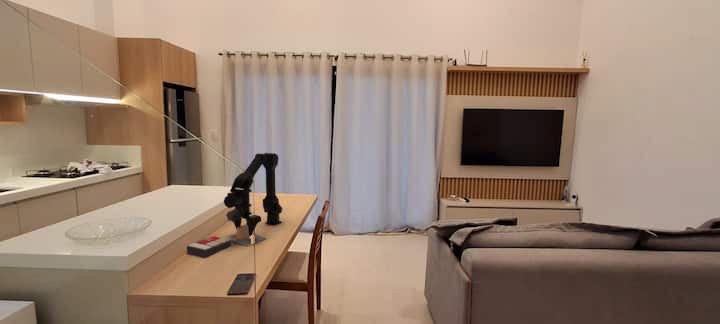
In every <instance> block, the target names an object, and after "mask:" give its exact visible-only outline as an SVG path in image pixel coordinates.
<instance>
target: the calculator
mask: <svg viewBox="0 0 720 324" xmlns="http://www.w3.org/2000/svg"><path fill="white" fill-rule="evenodd" d="M230 247H232V241H231V240H229V238H224V237H219V236H215V235H213V236H210V237H207V238H205V239H201V240H198V241H196V242H194V243H191V244H188V245H187V246H186V255H191V256H195V257H198V258H203V259H206V258H209V257H211V256H213V255H214V254H217V253H219V252H221V251H224V250H225V249H228V248H230Z"/></svg>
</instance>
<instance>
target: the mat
mask: <svg viewBox="0 0 720 324" xmlns="http://www.w3.org/2000/svg"><path fill="white" fill-rule="evenodd" d="M254 234H255V233H254ZM228 239H229V238H228ZM266 239H267V237H265V236H262V235H258V234H255V244H257V243H260V242H262V241H265V240H266ZM229 240H231V243H235V244H237V245H240V246H245V247H246V246H247V247H249V246H251V245H250V244H251V239H250V238H249V237H247V238H244V239H242V240H238V239H237V236H235V237H232V238H230V239H229ZM248 245H249V246H248Z"/></svg>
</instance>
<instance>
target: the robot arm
mask: <svg viewBox="0 0 720 324" xmlns="http://www.w3.org/2000/svg"><path fill="white" fill-rule="evenodd" d="M277 154H278V153H274V152H273V153H272V152H270V153H269V152H264V153H259V152H258V153H256V154H255V155H254V158H253V159H252V161H251V162H250V163H249V165H248V166H247V168H246V169H245V170H244V172H241V173H239V174H238V175H237V176H236V177H235V178H234V181H233V183H232V186H231V187H230V190H229V191H230V192H227V194H226V196H225V197H224V199H223V204H224V206H225V207H226V208H228V209H232V208H234V209H232V210H230V211H227V213H226V214H225V216H226V218H227V221H228V222H229V221H230V222H232V223H233V224H234V227H235V229H236V231H237V227H239V226H242V221H243V220H245V222H246V223H245V225H248V230H249V236H251V235H252V234H254V231H255V229H256V227H257V225H258V224H259V223H261V222H262V217H261V215H257V214H253V213H252V211H251V210H250V207H252V206H253V205H252V204H251V203H250V193H252V192H253V190H252V189H251V188H252V185H253V183H254V177H255V176H256V174H257V172H258V171H259V170H260V168H261V167H263V168H264V170H265V193H266V195H265V197H264V198H262V208H263V211H264V213H266V221H265V222H264V223H265V224H267V225H271V226H275V225H278V224H280V223H282V221H281V220H280V214H282V212H283V207H282V206H281V205H280V200H279V198H278V196H277V195H276V168H277V166H278V165H279V156H278V155H279V154H278V155H277Z"/></svg>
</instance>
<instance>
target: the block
mask: <svg viewBox="0 0 720 324" xmlns="http://www.w3.org/2000/svg"><path fill="white" fill-rule="evenodd" d="M236 237H237V239H238V240H242V239H244V238H247V237H250V236H249V230H248V225H246V224H243V225H242V224H241V226H239V227H237V230H236Z"/></svg>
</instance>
